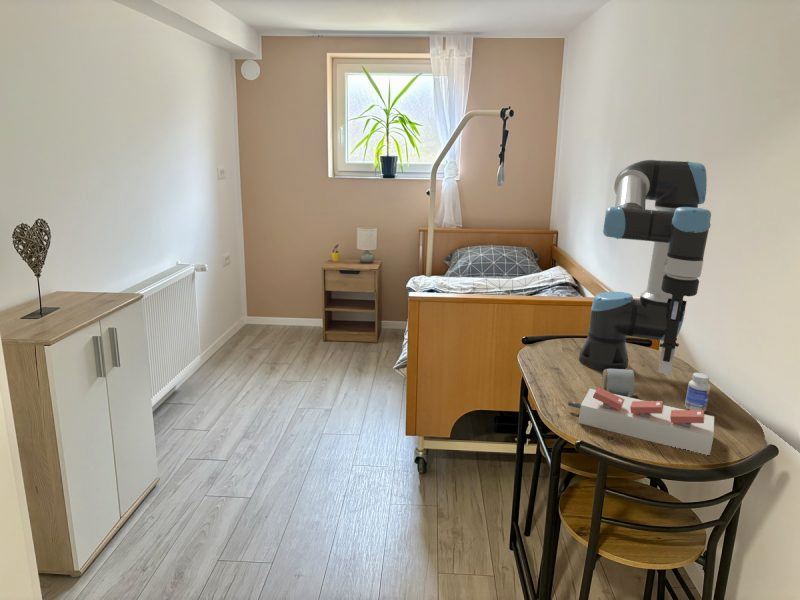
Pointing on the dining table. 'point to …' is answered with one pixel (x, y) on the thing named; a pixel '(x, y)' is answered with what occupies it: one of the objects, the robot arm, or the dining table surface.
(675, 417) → the block
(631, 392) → the ceramic mug
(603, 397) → the block
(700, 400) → the pill bottle
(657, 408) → the block
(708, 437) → the switch panel
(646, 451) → the dining table surface
